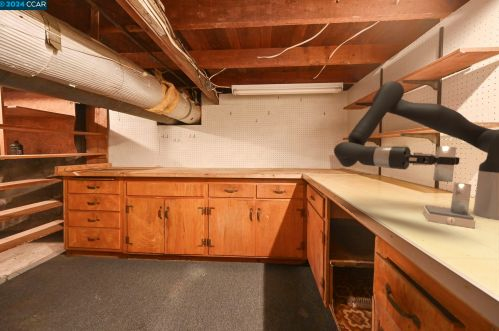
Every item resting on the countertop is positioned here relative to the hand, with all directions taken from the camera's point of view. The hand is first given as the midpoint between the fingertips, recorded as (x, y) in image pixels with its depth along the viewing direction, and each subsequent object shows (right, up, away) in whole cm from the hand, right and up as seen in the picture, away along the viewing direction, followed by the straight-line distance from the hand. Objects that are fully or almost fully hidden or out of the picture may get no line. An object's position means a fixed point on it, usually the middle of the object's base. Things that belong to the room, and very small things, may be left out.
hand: (456, 161), depth 68 cm
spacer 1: (-2, -6, +3) cm, 7 cm away
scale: (+10, -20, +15) cm, 27 cm away
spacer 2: (+12, -17, +13) cm, 25 cm away
